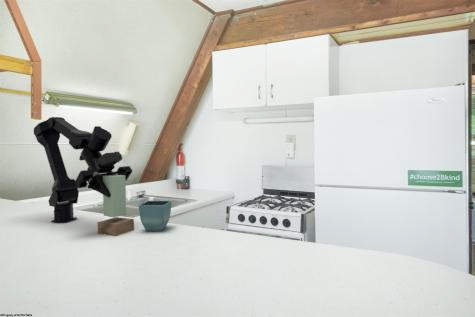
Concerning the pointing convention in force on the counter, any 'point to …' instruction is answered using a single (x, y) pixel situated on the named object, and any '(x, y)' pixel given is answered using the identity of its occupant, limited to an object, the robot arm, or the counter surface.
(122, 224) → the walnut block
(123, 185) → the sage pillar
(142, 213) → the flower pot
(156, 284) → the counter surface
